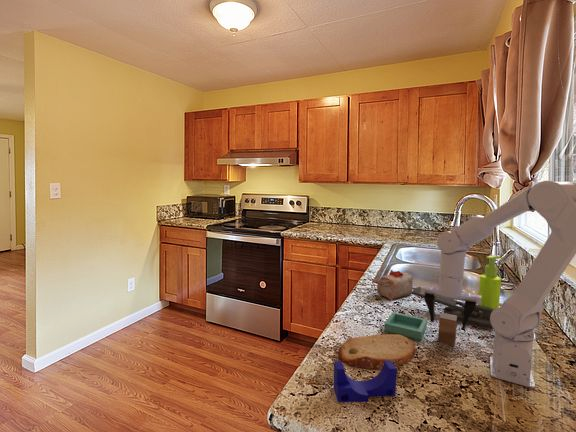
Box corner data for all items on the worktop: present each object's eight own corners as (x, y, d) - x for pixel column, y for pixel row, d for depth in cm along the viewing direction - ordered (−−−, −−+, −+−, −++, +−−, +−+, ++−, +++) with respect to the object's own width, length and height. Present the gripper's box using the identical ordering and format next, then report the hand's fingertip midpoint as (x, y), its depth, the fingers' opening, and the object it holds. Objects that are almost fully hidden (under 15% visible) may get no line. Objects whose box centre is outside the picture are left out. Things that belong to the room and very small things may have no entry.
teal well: (420, 340, 88) (421, 332, 88) (384, 331, 93) (384, 323, 93) (426, 327, 96) (427, 319, 96) (392, 319, 102) (392, 312, 101)
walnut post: (454, 346, 85) (456, 320, 85) (437, 342, 88) (439, 317, 87) (455, 340, 89) (457, 315, 88) (439, 336, 91) (441, 312, 90)
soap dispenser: (504, 317, 105) (509, 257, 103) (489, 320, 103) (494, 258, 101) (487, 310, 111) (492, 253, 109) (473, 313, 108) (477, 254, 106)
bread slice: (415, 345, 87) (416, 331, 86) (416, 382, 70) (417, 366, 69) (348, 333, 93) (349, 320, 93) (334, 365, 76) (335, 349, 76)
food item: (391, 302, 117) (393, 275, 117) (374, 295, 124) (375, 270, 123) (414, 295, 125) (416, 271, 124) (397, 290, 132) (398, 266, 131)
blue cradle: (337, 403, 62) (338, 373, 62) (333, 388, 67) (334, 361, 66) (398, 401, 63) (399, 372, 62) (389, 387, 68) (391, 360, 67)
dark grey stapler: (418, 285, 116) (500, 302, 101) (417, 303, 117) (498, 322, 101) (409, 291, 110) (496, 310, 94) (408, 310, 110) (494, 332, 95)
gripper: (482, 276, 86) (478, 325, 87) (424, 268, 94) (421, 313, 95) (482, 283, 80) (478, 335, 81) (420, 273, 88) (417, 321, 89)
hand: (447, 324), depth 88 cm, fingers open, 7 cm apart
